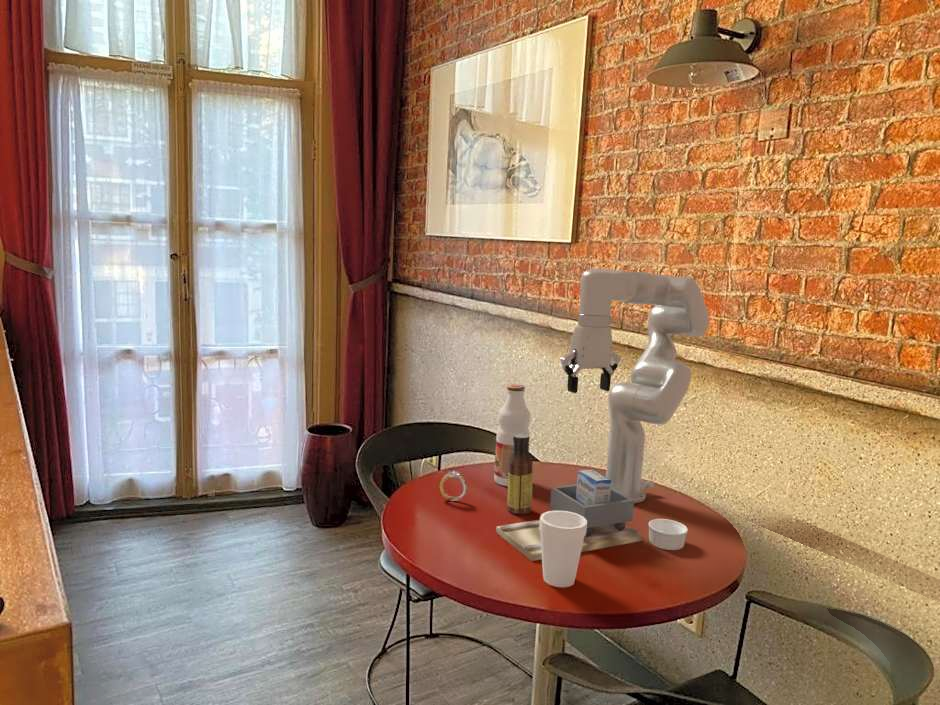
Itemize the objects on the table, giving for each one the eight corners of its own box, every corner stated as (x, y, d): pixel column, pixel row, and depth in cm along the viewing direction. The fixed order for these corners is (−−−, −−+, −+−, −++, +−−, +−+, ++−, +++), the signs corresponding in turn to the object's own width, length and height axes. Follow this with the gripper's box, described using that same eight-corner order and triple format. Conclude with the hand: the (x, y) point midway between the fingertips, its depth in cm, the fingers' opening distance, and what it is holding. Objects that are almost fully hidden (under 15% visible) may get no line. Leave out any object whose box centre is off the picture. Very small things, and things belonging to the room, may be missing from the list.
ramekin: (690, 542, 167) (692, 524, 166) (680, 555, 160) (682, 537, 159) (653, 532, 172) (654, 515, 171) (641, 545, 164) (643, 527, 163)
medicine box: (574, 504, 171) (577, 470, 169) (590, 502, 173) (592, 468, 171) (593, 517, 164) (596, 481, 162) (609, 514, 166) (612, 479, 164)
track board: (599, 516, 180) (600, 508, 180) (641, 541, 166) (642, 532, 166) (496, 532, 167) (496, 523, 166) (531, 561, 153) (532, 551, 152)
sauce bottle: (531, 507, 184) (536, 433, 180) (531, 516, 177) (536, 439, 174) (506, 505, 184) (510, 431, 181) (505, 514, 178) (509, 437, 175)
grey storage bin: (596, 509, 178) (598, 481, 177) (631, 530, 166) (634, 500, 165) (549, 517, 171) (551, 487, 170) (582, 539, 159) (584, 507, 158)
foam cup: (579, 571, 149) (584, 512, 147) (585, 592, 140) (590, 530, 138) (534, 568, 149) (538, 509, 147) (536, 589, 140) (541, 526, 138)
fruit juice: (513, 490, 196) (519, 390, 192) (487, 481, 202) (492, 384, 198) (533, 482, 203) (539, 386, 199) (507, 474, 209) (513, 381, 205)
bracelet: (466, 500, 186) (468, 471, 185) (463, 504, 183) (465, 475, 182) (441, 496, 188) (443, 467, 187) (437, 500, 185) (439, 471, 184)
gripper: (613, 319, 179) (607, 386, 182) (555, 320, 171) (550, 389, 174) (632, 323, 172) (626, 392, 175) (573, 324, 165) (568, 396, 167)
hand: (588, 390), depth 175 cm, fingers open, 9 cm apart
